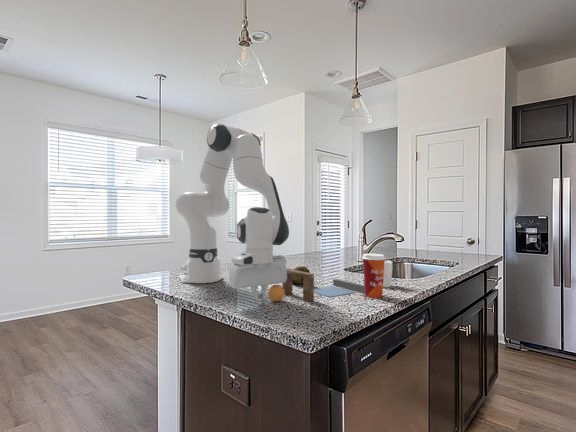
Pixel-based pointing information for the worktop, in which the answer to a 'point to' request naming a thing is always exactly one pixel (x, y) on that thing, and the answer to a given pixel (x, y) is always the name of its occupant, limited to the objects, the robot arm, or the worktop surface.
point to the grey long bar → (349, 285)
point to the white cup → (387, 273)
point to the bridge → (307, 284)
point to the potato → (296, 278)
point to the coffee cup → (373, 274)
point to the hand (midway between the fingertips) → (259, 298)
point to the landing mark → (332, 291)
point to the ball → (276, 293)
